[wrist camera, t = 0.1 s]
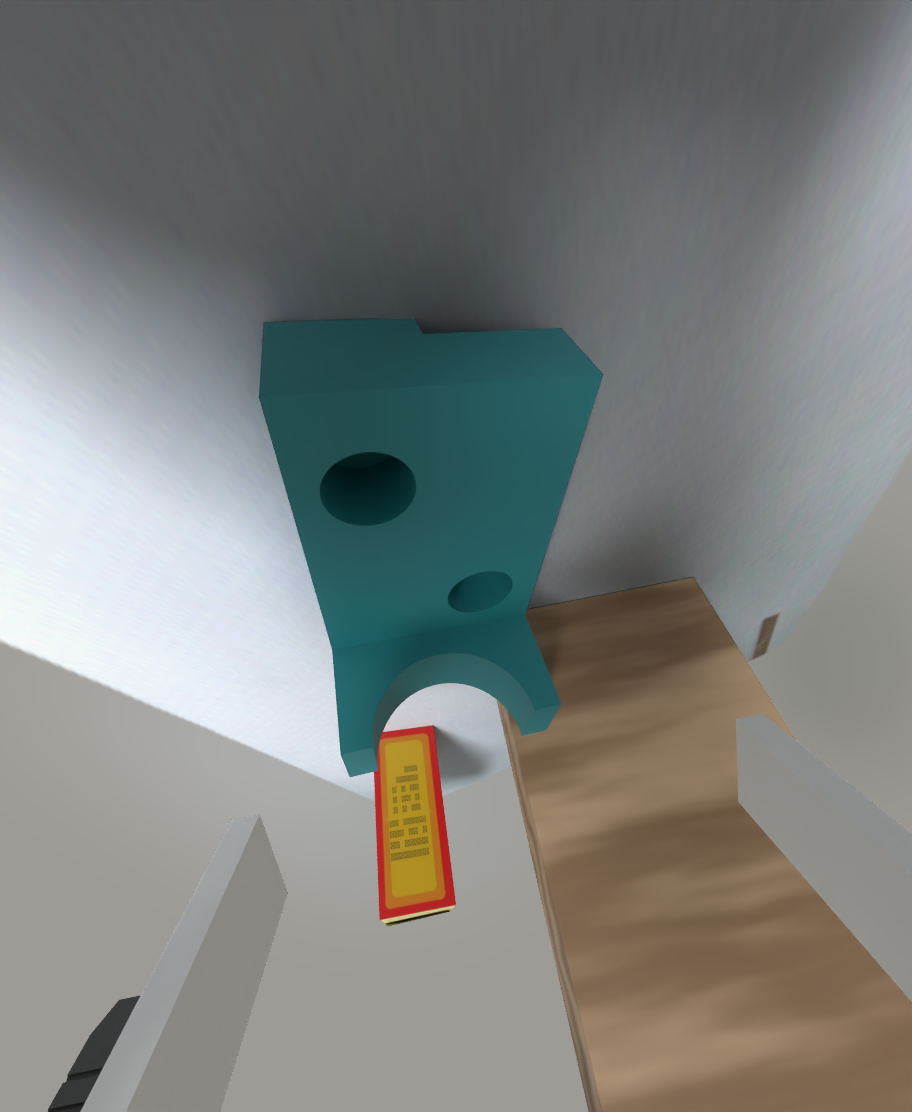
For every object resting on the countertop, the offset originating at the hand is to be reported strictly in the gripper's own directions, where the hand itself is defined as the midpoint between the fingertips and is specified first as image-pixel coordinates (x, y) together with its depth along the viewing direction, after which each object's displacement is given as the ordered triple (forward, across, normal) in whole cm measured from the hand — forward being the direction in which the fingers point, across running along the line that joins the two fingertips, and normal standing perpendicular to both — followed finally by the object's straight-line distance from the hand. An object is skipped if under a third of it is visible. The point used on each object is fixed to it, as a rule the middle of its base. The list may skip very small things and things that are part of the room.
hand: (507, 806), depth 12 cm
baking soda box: (+35, -9, -23) cm, 43 cm away
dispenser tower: (+25, +10, -8) cm, 28 cm away
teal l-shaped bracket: (+14, -1, +7) cm, 16 cm away
